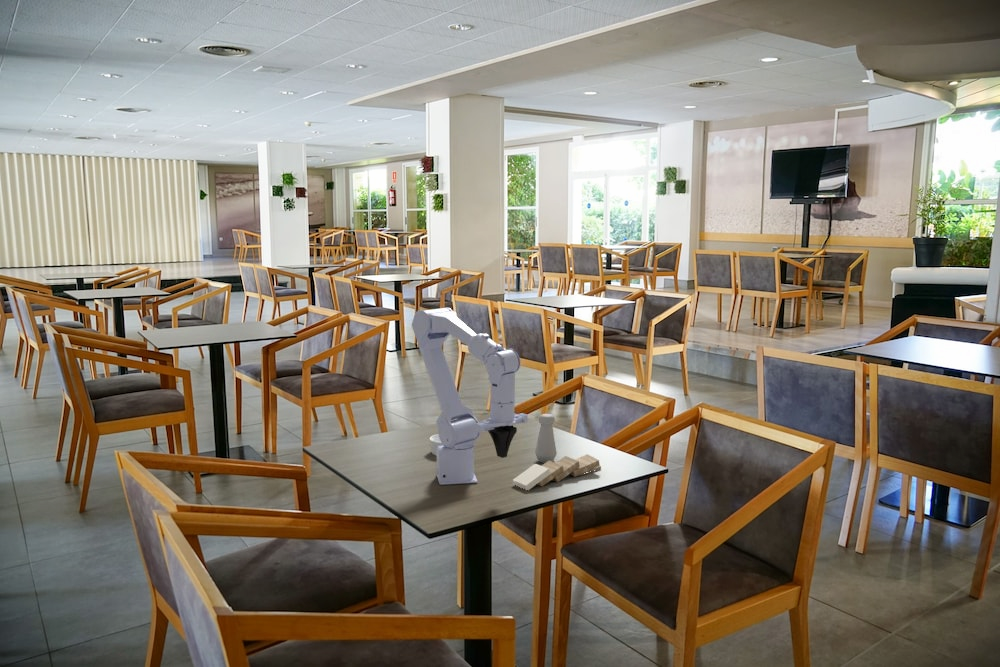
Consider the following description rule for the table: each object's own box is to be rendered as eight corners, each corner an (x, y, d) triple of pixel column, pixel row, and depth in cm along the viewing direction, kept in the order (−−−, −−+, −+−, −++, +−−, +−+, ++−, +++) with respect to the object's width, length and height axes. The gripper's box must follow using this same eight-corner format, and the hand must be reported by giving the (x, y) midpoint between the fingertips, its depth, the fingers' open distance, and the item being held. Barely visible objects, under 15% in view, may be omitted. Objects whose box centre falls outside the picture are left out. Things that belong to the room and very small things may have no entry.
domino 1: (539, 481, 190) (562, 465, 194) (526, 476, 194) (549, 460, 198) (541, 486, 190) (563, 470, 195) (528, 481, 194) (550, 465, 198)
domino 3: (574, 471, 196) (598, 460, 200) (562, 464, 200) (587, 454, 204) (574, 476, 197) (599, 465, 200) (563, 470, 201) (588, 459, 204)
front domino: (526, 485, 187) (548, 468, 191) (512, 479, 190) (535, 463, 195) (527, 490, 187) (550, 474, 192) (514, 485, 191) (536, 468, 195)
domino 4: (579, 472, 198) (601, 466, 203) (566, 467, 202) (587, 461, 207) (579, 478, 199) (600, 471, 204) (565, 473, 202) (587, 466, 207)
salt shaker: (538, 465, 206) (539, 418, 204) (532, 458, 212) (533, 412, 209) (559, 463, 208) (560, 416, 206) (552, 457, 213) (553, 411, 211)
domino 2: (555, 477, 193) (578, 461, 197) (543, 471, 197) (565, 455, 201) (557, 482, 193) (579, 466, 197) (544, 476, 197) (566, 461, 201)
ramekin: (460, 458, 212) (460, 442, 211) (427, 457, 212) (427, 442, 211) (462, 448, 221) (462, 433, 220) (431, 447, 221) (431, 432, 220)
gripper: (489, 409, 174) (489, 467, 176) (536, 399, 183) (535, 454, 185) (470, 403, 179) (470, 459, 181) (516, 393, 188) (515, 447, 191)
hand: (501, 456), depth 184 cm, fingers closed
